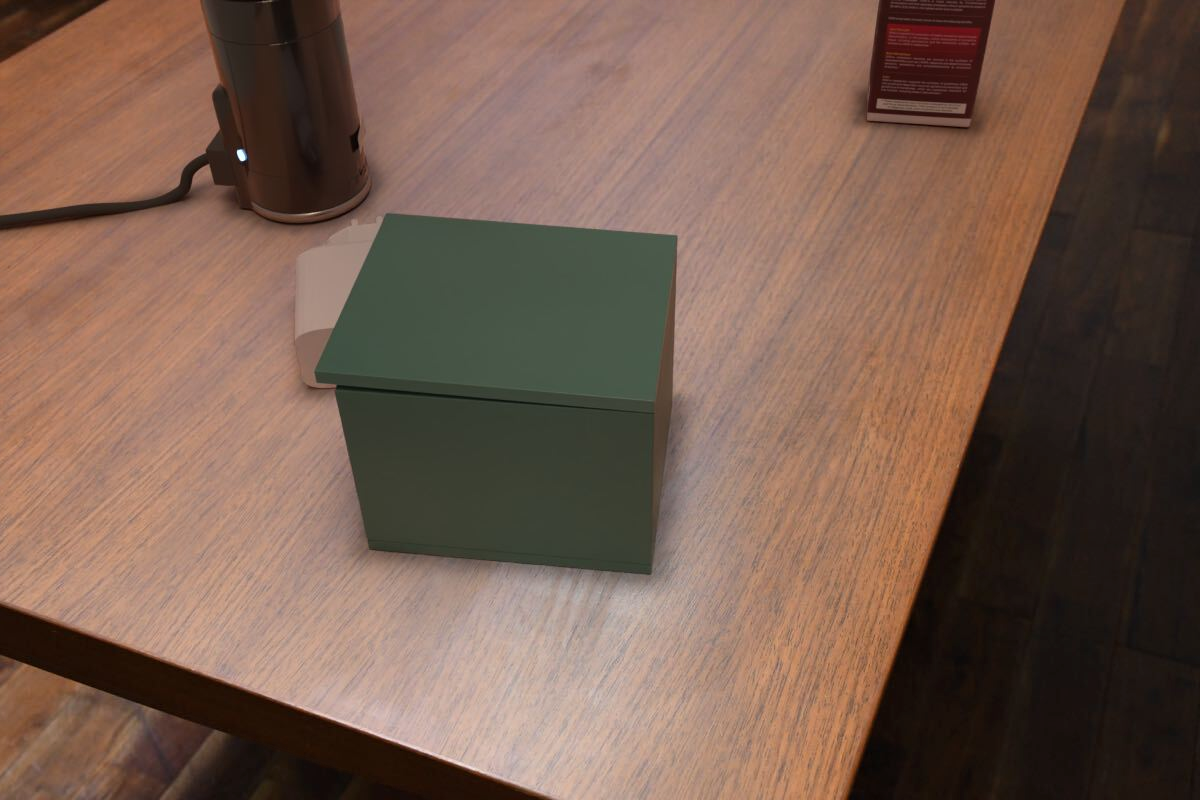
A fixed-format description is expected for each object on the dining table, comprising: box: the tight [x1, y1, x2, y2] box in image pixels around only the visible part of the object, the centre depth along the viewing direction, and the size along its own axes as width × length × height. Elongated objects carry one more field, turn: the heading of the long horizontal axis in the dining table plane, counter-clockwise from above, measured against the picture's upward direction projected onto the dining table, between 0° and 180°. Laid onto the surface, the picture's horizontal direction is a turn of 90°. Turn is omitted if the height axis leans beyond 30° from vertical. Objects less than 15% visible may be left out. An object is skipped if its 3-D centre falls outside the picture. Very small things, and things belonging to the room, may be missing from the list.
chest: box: [333, 251, 678, 575], centre depth 67 cm, size 16×14×12 cm
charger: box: [293, 215, 384, 389], centre depth 81 cm, size 5×9×15 cm
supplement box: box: [866, 0, 996, 128], centre depth 96 cm, size 9×5×16 cm, turn 80°
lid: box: [314, 212, 679, 413], centre depth 62 cm, size 16×14×1 cm
